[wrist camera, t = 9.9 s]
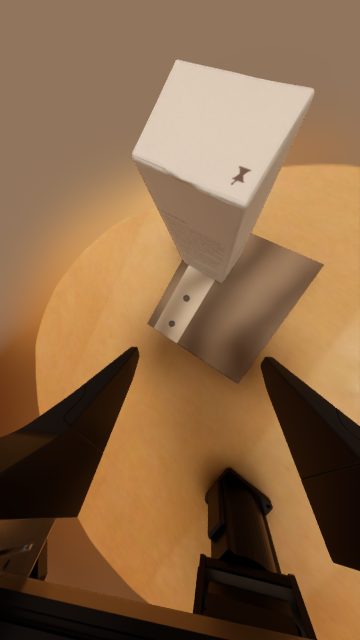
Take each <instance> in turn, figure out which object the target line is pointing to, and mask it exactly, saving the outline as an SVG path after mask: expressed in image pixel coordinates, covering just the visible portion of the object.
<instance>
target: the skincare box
mask: <svg viewBox="0 0 360 640" xmlns="http://www.w3.org/2000/svg"><path fill="white" fill-rule="evenodd" d="M313 96H314V89H313V88H308V87H303V86H297V85H291V84H285V83H279V82H273V81H269V80H265V79H260V78H255V77H250V76H246V75H242V74H239V73H235V72H231V71H226V70H221V69H216V68H212V67H207V66H202V65H198V64H194V63H190V62H184V61H181V60H176V61H175V64H174V66H173V69H172V70H171V73H170V75H169V77H168V79H167V81H166V83H165V85H164V87H163V90H162V92H161V94H160V96H159V98H158V101H157V103H156V105H155V107H154V109H153V111H152V113H151V115H150V117H149V120H148V122H147V124H146V126H145V128H144V130H143V132H142V134H141V136H140V138H139V140H138V142H137V144H136V146H135V149H134V150H133V153H132V158H133V160H134V162H135V165H136V166H137V168H138V171H139V173H140V175H141V176H142V178H143V180H144V182H145V185H146V186H147V188H148V191H149V193H150V195H151V196H152V198H153V201H154V203H155V205H156V207H157V209H158V211H159V213H160V215H161V217H162V219H163V221H164V223H165V225H166V227H167V229H168V231H169V233H170V235H171V237H172V239H173V241H174V243H175V245H176V247H177V249H178V251H179V253H180V255H181V257H182V259H183V261H184V262H185V263H186V264H188V265H190V266H192V267H193V268H195V269H197V270H199V271H200V272H202V273H204V274H206V275H207V276H209V277H211V278H213V279H214V280H216V281H218V282H220V283H223V281H224V280H225V278H226V277H227V275H228V274H229V272H230V271H231V269H232V268H233V266H234V265H235V263H236V262H237V260H238V259H239V257H240V255H241V254H242V252H243V249H244V247H245V245H246V243H247V241H248V239H249V237H250V234H251V232H252V230H253V228H254V226H255V223H256V221H257V219H258V217H259V215H260V213H261V210H262V208H263V206H264V204H265V202H266V200H267V197H268V195H269V193H270V191H271V189H272V187H273V184H274V182H275V180H276V178H277V176H278V174H279V171H280V169H281V167H282V165H283V162H284V160H285V158H286V156H287V154H288V151H289V149H290V147H291V145H292V143H293V141H294V139H295V137H296V135H297V132H298V130H299V128H300V126H301V124H302V122H303V119H304V117H305V115H306V113H307V111H308V108H309V106H310V104H311V101H312V99H313Z"/></svg>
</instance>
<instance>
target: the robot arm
mask: <svg viewBox="0 0 360 640" xmlns="http://www.w3.org/2000/svg"><path fill="white" fill-rule="evenodd" d="M138 360H139V351H138V348H137V347H130V348H129V349H128V350H127V351H125V352H124V353H123V354H122V355H120V356H119V357H118V358H117V359H115V360H114V361H113V362H111V363H110V364H109V365H108V366H106V367H105V368H104V369H103V370H101V371H100V372H99V373H98V374H96V375H95V376H94V377H93V378H91V379H90V380H89V381H87V382H86V383H85V384H84V385H82V386H81V387H80V388H79V389H77V390H76V391H75V392H73V393H72V394H71V395H69V396H68V397H67V398H65V399H64V400H62V401H61V402H60V403H58V404H57V405H55V406H54V407H52V408H51V409H49V410H48V411H47V412H45V413H44V414H42V415H41V416H39V417H38V418H36V419H35V420H34V421H32V422H31V423H29V424H28V425H26V426H24V427H23V428H21V429H19V430H17V431H15V432H13V433H10V434H8V435H5V436H3V437H0V640H317V638H316V635H315V632H314V629H313V627H312V624H311V621H310V618H309V615H308V612H307V610H306V607H305V604H304V601H303V598H302V595H301V592H300V590H299V587H298V584H297V581H296V578H295V576H294V575H292V574H288V575H284V574H281V570H280V567H279V563H278V559H277V556H276V552H275V548H274V545H273V541H272V537H271V534H270V530H269V526H268V523H267V519H266V515H267V514H268V513H269V512H270V511H271V510H272V508H273V507H272V504H271V501H270V500H269V499H268V498H267V497H265V496H264V495H263V494H262V493H260V492H259V491H258V490H257V489H255V488H254V487H253V486H252V485H250V484H249V483H248V482H247V481H245V480H244V479H243V478H242V477H240V476H239V475H238V474H237V473H235V472H234V471H233V470H232V469H230V468H228V469H226V470H225V472H224V473H223V474H222V475H221V477H220V478H219V479H218V480H217V481H216V482H215V483H214V485H213V486H212V487H211V488H210V490H209V491H208V493H207V494H206V496H205V502H206V503H207V504H208V537H209V539H210V540H211V558H210V557H206V555H205V554H200V564H199V567H198V572H197V581H196V590H195V599H194V608H193V613H188V612H183V611H179V610H174V609H170V608H165V607H160V606H156V605H151V604H147V603H142V602H137V601H133V600H128V599H124V598H119V597H114V596H110V595H105V594H101V593H96V592H92V591H87V590H83V589H78V588H73V587H69V586H64V585H60V584H54V583H50V582H46V581H44V580H45V577H46V575H47V537H48V535H49V533H50V531H51V529H52V527H53V525H54V523H55V521H56V519H57V518H72V517H78V514H79V512H80V510H81V507H82V505H83V502H84V500H85V497H86V495H87V492H88V490H89V487H90V485H91V482H92V480H93V477H94V475H95V472H96V470H97V467H98V465H99V462H100V460H101V457H102V455H103V452H104V450H105V447H106V445H107V442H108V440H109V437H110V435H111V432H112V430H113V427H114V425H115V422H116V420H117V417H118V415H119V412H120V410H121V407H122V405H123V402H124V400H125V397H126V395H127V392H128V390H129V387H130V385H131V382H132V380H133V377H134V374H135V370H136V367H137V363H138ZM261 370H262V374H263V378H264V381H265V385H266V389H267V392H268V394H269V397H270V400H271V402H272V405H273V407H274V410H275V413H276V415H277V418H278V421H279V423H280V426H281V428H282V431H283V434H284V436H285V439H286V442H287V444H288V447H289V449H290V452H291V455H292V457H293V460H294V462H295V465H296V468H297V470H298V473H299V476H300V478H301V481H302V484H303V486H304V489H305V492H306V494H307V497H308V499H309V502H310V505H311V507H312V510H313V513H314V515H315V518H316V520H317V523H318V526H319V528H320V531H321V534H322V536H323V539H324V541H325V544H326V547H327V549H328V552H329V554H330V557H331V559H332V561H333V563H336V564H339V565H342V566H345V567H349V568H352V569H355V570H358V571H360V426H359V425H358V424H356V423H355V422H354V421H352V420H351V419H350V418H349V417H347V416H346V415H345V414H343V413H342V412H341V411H340V410H338V409H337V408H335V407H334V406H333V405H332V404H331V403H329V402H328V401H327V400H326V399H324V398H323V397H322V396H321V395H319V394H318V393H317V392H316V391H314V390H313V389H312V388H311V387H309V386H308V385H307V384H305V383H304V382H303V381H302V380H300V379H299V378H298V377H297V376H295V375H294V374H293V373H292V372H290V371H289V370H288V369H287V368H285V367H284V366H283V365H281V364H280V363H279V362H278V361H276V360H275V359H274V358H272V357H265V358H264V360H263V361H262V363H261ZM229 473H230V474H229Z"/></svg>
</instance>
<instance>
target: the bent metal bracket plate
mask: <svg viewBox="0 0 360 640" xmlns="http://www.w3.org/2000/svg"><path fill="white" fill-rule="evenodd" d="M323 266H324V264H321V263H319V262H317V261H314V260H312V259H310V258H307V257H305V256H303V255H300V254H298V253H296V252H293V251H291V250H289V249H286V248H284V247H282V246H279V245H277V244H275V243H273V242H270V241H268V240H266V239H263V238H261V237H259V236H256V235H254V234H252V233H251V234H250V237H249V239H248V241H247V243H246V245H245V247H244V249H243V252H242V254H241V255H240V257H239V259H238V260H237V262H236V263H235V265H234V266H233V268H232V269H231V271H230V272H229V274H228V275H227V277H226V278H225V280H224V281H223V283H220V282H218V281H216V280H214V279H213V278H211V277H209V276H207V275H206V274H204V273H202V272H200V271H199V270H197V269H195V268H193V267H192V266H190V265H188V264H186V263H185V262H184V261H183V260H182V262H181V263H180V265H179V267H178V269H177V271H176V272H175V274H174V276H173V278H172V280H171V282H170V283H169V285H168V287H167V289H166V291H165V293H164V294H163V296H162V298H161V300H160V302H159V304H158V305H157V307H156V309H155V311H154V313H153V315H152V316H151V318H150V320H149V322H148V324H149V325H150V326H152V327H153V328H154V329H156V330H157V331H159V332H160V333H162V334H163V335H165V336H166V337H168V338H169V339H171V340H172V341H174V342H175V343H177V344H179V345H180V346H182V347H183V348H185V349H186V350H188V351H189V352H191V353H192V354H194V355H195V356H197V357H198V358H200V359H201V360H203V361H204V362H206V363H207V364H209V365H210V366H212V367H213V368H215V369H216V370H218V371H219V372H221V373H222V374H224V375H225V376H227V377H228V378H230V379H231V380H233V381H234V382H236V383H237V384H238V383H239V382H240V381H241V379H242V378H243V376H244V375H245V374H246V372H247V371H248V369H249V368H250V367H251V365H252V364H253V363H254V361H255V360H256V358H257V357H258V356H259V354H260V353H261V351H262V350H263V349H264V347H265V346H266V345H267V343H268V342H269V340H270V339H271V338H272V336H273V335H274V333H275V332H276V331H277V329H278V328H279V327H280V325H281V324H282V322H283V321H284V320H285V318H286V317H287V315H288V314H289V313H290V311H291V310H292V309H293V307H294V306H295V304H296V303H297V302H298V300H299V299H300V297H301V296H302V295H303V293H304V292H305V290H306V289H307V288H308V286H309V285H310V284H311V282H312V281H313V279H314V278H315V277H316V275H317V274H318V272H319V271H320V270H321V268H322V267H323Z"/></svg>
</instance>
